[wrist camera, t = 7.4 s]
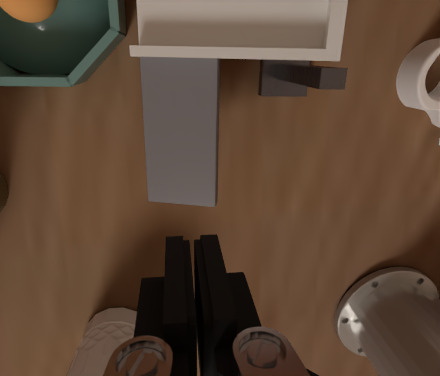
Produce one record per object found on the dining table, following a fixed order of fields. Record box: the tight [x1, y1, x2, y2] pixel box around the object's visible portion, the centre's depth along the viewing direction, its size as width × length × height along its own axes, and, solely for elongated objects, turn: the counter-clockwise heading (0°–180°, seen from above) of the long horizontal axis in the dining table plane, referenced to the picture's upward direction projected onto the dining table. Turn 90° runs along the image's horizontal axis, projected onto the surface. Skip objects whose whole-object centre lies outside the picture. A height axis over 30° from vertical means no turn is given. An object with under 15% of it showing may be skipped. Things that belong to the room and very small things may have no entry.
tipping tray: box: [129, 0, 348, 207], centre depth 21 cm, size 12×18×2 cm, turn 179°
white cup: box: [66, 307, 137, 376], centre depth 33 cm, size 8×8×10 cm
